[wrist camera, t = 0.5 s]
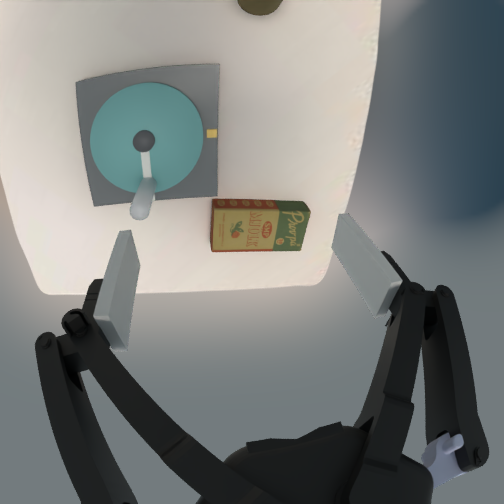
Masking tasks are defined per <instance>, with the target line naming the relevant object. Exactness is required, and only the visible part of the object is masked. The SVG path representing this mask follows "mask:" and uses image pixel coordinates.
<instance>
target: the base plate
mask: <svg viewBox="0 0 504 504" xmlns="http://www.w3.org/2000/svg"><path fill="white" fill-rule="evenodd" d="M219 65H220V64H194V65H177V66H165V67H155V68H147V69H139V70H133V71H126V72H120V73H115V74H109V75H104V76H100V77H95V78H91V79H86V80H82V81H78V82H76V95H77V107H78V117H79V126H80V134H81V141H82V148H83V154H84V160H85V166H86V171H87V177H88V182H89V186H90V191H91V196H92V200H93V204H94V206H103V205H112V204H121V203H131V202H133V199H134V197H135V194H136V193H134V192H129V191H126V190H123V189H121V188H119V187H117V186H115V185H114V184H112V183H111V182H110V181H109V180H107V179H106V178H105V177H104V176H103V174H102V173H101V172H100V171H99V169H98V168H97V166H96V164H95V162H94V159H93V156H92V153H91V147H90V134H91V128H92V125H93V121H94V119H95V117H96V115H97V113H98V111H99V110H100V108H101V107H102V105H103V104H104V103H105V102H106V101H107V100H108V99H109V98H110V97H111V96H113V95H114V94H115V93H117V92H118V91H120V90H122V89H124V88H126V87H129V86H132V85H135V84H140V83H148V82H153V83H161V84H166V85H169V86H171V87H174V88H176V89H177V90H179V91H181V92H182V93H183V94H185V95H186V96H187V97H188V98H189V99H190V100H191V101H192V103H193V104H194V105H195V107H196V109H197V111H198V112H199V115H200V118H201V121H202V126H203V145H202V151H201V153H200V156H199V159H198V161H197V163H196V165H195V166H194V168H193V169H192V171H191V172H190V173H189V174H188V175H187V176H186V177H185V178H184V179H183V180H182V181H180V182H179V183H178V184H176V185H174V186H173V187H171V188H168V189H166V190H164V191H160V192H156V193H154V196H153V200H152V201H155V200H165V199H179V198H194V197H212V196H217V145H218V93H219Z"/></svg>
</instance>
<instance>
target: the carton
mask: <svg viewBox="0 0 504 504" xmlns="http://www.w3.org/2000/svg"><path fill="white" fill-rule="evenodd" d="M310 213H311V212H310V209H309V208H308V206H307V205H306V204H305V203H304V202H303V201H279V200H252V199H212V215H211V232H210V244H211V251H212V252H249V251H300V250H301V247H302V243H303V239H304V236H305V232H306V228H307V224H308V220H309V217H310Z"/></svg>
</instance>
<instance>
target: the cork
mask: <svg viewBox="0 0 504 504" xmlns="http://www.w3.org/2000/svg"><path fill="white" fill-rule="evenodd" d="M282 1H283V0H238V3H239V5H240V6H241V8H242V9H243V10H245V11H246V12H248V13H250V14H253V15H260V16H262V15H268V14H270V13H272V12H274V11H275V10H276V9H277V8H278V7H279V5H280V4H281V2H282Z"/></svg>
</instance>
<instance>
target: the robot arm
mask: <svg viewBox="0 0 504 504" xmlns="http://www.w3.org/2000/svg"><path fill="white" fill-rule="evenodd" d="M331 248H332V249H333V251H334V252H335V254H336V255H337V257H338V259H339V260H340V262H341V263H342V265H343V267H344V268H345V270H346V271H347V273H348V275H349V276H350V278H351V280H352V281H353V283H354V285H355V286H356V288H357V290H358V291H359V293H360V295H361V296H362V298H363V300H364V301H365V303H366V305H367V307H368V308H369V310H370V312H371V314H372V315H373V317H374V319H375V318H379V317H383V316H385V315H386V313H387V311H388V309H389V310H390V311H391V313H392V314H391V316H390V318H389V320H388V321H387V323H386V325H385V326H387V325H388V327H387V331H386V335H385V339H384V343H383V346H382V350H381V354H380V357H379V361H378V364H377V367H376V370H375V374H374V377H373V380H372V383H371V386H370V389H369V392H368V395H367V398H366V401H365V403H364V406H363V409H362V411H361V414H360V416H359V418H358V419H357V421H356V422H355V424H354V426H353V427H351V426H342V424H341V422H337V423H334V424H330V425H327V426H323V427H319V428H317V429H316V430H314V431H312V432H310V433H308V434H306V435H304V436H302V437H300V438H298V439H272V438H270V439H265V440H259V441H252V442H247V443H246V447H243V448H241V449H239V450H237V451H235V452H234V453H232V454H231V455H230V456H229V457H228V458H226V460H225V461H224V462H222V461H221V460H219V459H218V458H217V457H216V456H214V455H213V454H212V453H211V452H209V451H208V450H207V449H206V448H205V447H203V446H202V445H201V444H200V443H199V442H198V441H196V440H195V439H194V438H193V437H192V436H190V435H189V434H187V433H186V432H185V431H184V430H183V429H182V428H181V427H180V426H179V425H177V424H176V423H175V422H174V421H173V420H172V419H171V418H170V417H169V416H168V415H167V414H166V413H165V412H164V411H163V410H162V409H161V408H160V407H159V406H158V405H157V404H156V403H155V402H154V400H153V399H152V398H151V397H150V396H149V395H148V394H147V393H146V392H145V391H144V390H143V388H141V386H140V385H139V384H138V383H137V382H136V381H135V379H134V378H133V377H132V376H131V375H130V374H129V372H128V371H127V370H126V369H125V368H124V367H123V365H122V364H121V363H120V361H119V360H118V359H117V358H116V356H115V355H114V354H113V353H112V351H111V350H110V349H109V348H110V346H111V348H112V349H113V351H127V350H128V341H129V333H130V325H131V317H132V311H133V304H134V297H135V292H136V286H137V280H138V275H139V270H140V262H139V259H138V255H137V251H136V247H135V244H134V240H133V236H132V232H131V230H125V231H119V234H118V237H117V239H116V242H115V245H114V248H113V251H112V254H111V257H110V260H109V263H108V266H107V269H106V272H105V275H104V279H95V280H94V281H93V282H92V283H91V285H90V286H89V288H88V291H87V295H86V298H85V301H84V304H83V308H82V309H72V310H70V311H68V312H67V313H66V314H65V315H64V317H63V318H62V323H61V324H62V327H63V329H64V330H65V332H66V333H67V334H64V335H62V336H58V337H56V336H55V335H54V334H53V333H52V332H46V333H43V334H41V335H40V336H39V337H38V338H37V340H36V343H35V351H36V358H37V364H38V370H39V376H40V381H41V386H42V391H43V396H44V400H45V404H46V408H47V412H48V416H49V420H50V423H51V427H52V430H53V433H54V436H55V440H56V443H57V445H58V448H59V451H60V454H61V457H62V459H63V462H64V465H65V467H66V470H67V472H68V474H69V477H70V479H71V481H72V484H73V486H74V488H75V490H76V492H77V494H78V496H79V498H80V501H81V504H138V503H137V500H136V498H135V496H134V494H133V492H132V490H131V488H130V486H129V485H128V483H127V481H126V479H125V478H124V476H123V474H122V472H121V470H120V468H119V466H118V465H117V463H116V461H115V459H114V457H113V455H112V453H111V451H110V448H109V446H108V444H107V442H106V440H105V438H104V435H103V433H102V431H101V428H100V426H99V424H98V422H97V419H96V416H95V414H94V411H93V409H92V406H91V403H90V401H89V398H88V395H87V392H86V389H85V386H84V383H83V380H82V377H81V374H80V372H81V371H85V370H88V369H89V370H90V371H91V373H92V374H93V376H94V377H95V379H96V380H97V382H98V383H99V384H100V386H101V387H102V389H103V390H104V391H105V393H106V394H107V396H108V397H109V398H110V399H111V401H112V402H113V403H114V404H115V406H116V407H117V409H118V410H119V411H120V412H121V414H122V415H123V416H124V417H125V419H126V420H127V421H128V422H129V423H130V425H131V426H132V427H133V428H134V429H135V430H136V431H137V433H138V434H139V435H140V436H141V437H142V438H143V439H144V440H145V441H146V443H147V444H148V445H149V446H150V447H151V448H152V449H153V450H154V451H155V452H156V453H157V454H158V455H159V456H160V458H161V459H162V460H163V462H164V463H165V464H166V465H167V466H168V467H169V468H170V469H172V470H173V471H174V472H175V473H176V474H177V475H178V476H179V477H180V478H181V479H182V480H184V481H185V482H186V483H187V484H188V485H189V486H191V487H192V488H193V489H194V490H195V491H196V492H198V493H199V494H200V495H201V497H200V498H199V500H198V501H197V502H196V504H431V499H432V493H433V489H434V488H436V487H438V486H440V485H442V484H444V483H445V482H447V481H449V480H451V479H453V478H454V477H457V476H459V475H462V474H464V473H467V472H469V471H472V470H474V469H476V468H479V467H481V466H483V465H484V464H485V463H486V461H487V459H488V456H489V447H488V443H487V440H486V437H485V434H484V431H483V428H482V425H481V422H480V419H479V416H478V413H477V402H476V394H475V386H474V379H473V373H472V367H471V361H470V357H469V351H468V346H467V342H466V338H465V334H464V329H463V326H462V321H461V318H460V314H459V311H458V307H457V304H456V300H455V297H454V294H453V292H452V291H451V290H450V289H449V288H448V287H447V286H444V285H438V286H437V287H436V289H435V291H426V290H425V289H424V288H423V287H422V286H421V285H420V284H418V283H415V282H411V281H410V280H409V279H408V277H407V276H406V275H405V273H404V272H403V271H402V270H401V268H400V267H399V266H398V264H397V263H395V261H394V259H393V258H392V257H391V256H390V255H389V254H387V253H386V252H385V251H380V250H379V249H378V248H377V247H376V245H375V244H374V243H373V242H372V240H371V239H370V238H369V237H368V236H367V234H366V233H365V232H364V231H363V229H362V228H361V227H360V226H359V225H358V224H357V223H356V221H355V220H354V219H353V218H352V217H351V216H350V214H349V213H348V214H339V216H338V220H337V225H336V230H335V234H334V239H333V243H332V247H331ZM421 347H422V356H423V367H424V380H425V407H426V408H425V409H426V440H427V447H426V448H425V452H424V453H423V454H422V457H421V459H422V461H423V465H422V464H420V463H418V462H416V461H414V460H413V459H411V458H409V457H407V456H405V455H404V454H402V450H403V447H404V444H405V441H406V437H407V433H408V430H409V426H410V423H411V419H412V415H413V411H414V404H413V403H412V402H411V397H412V393H413V388H414V384H415V379H416V373H417V367H418V362H419V356H420V349H421Z"/></svg>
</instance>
